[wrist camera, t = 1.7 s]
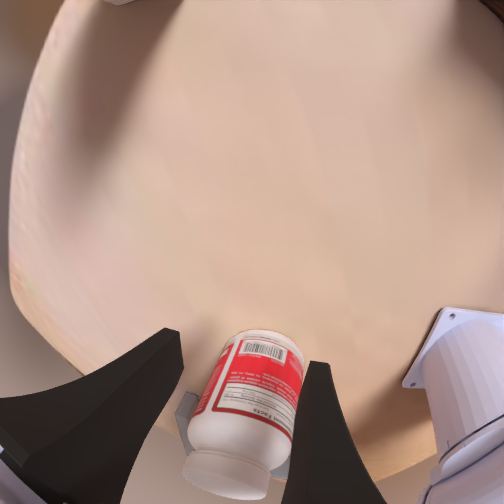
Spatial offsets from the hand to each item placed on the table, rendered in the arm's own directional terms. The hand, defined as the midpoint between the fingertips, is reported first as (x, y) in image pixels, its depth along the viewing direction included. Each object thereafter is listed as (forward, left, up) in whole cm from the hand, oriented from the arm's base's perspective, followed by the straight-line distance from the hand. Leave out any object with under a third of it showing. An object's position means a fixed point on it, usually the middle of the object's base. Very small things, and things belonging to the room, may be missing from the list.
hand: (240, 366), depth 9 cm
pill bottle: (0, +8, -9) cm, 12 cm away
